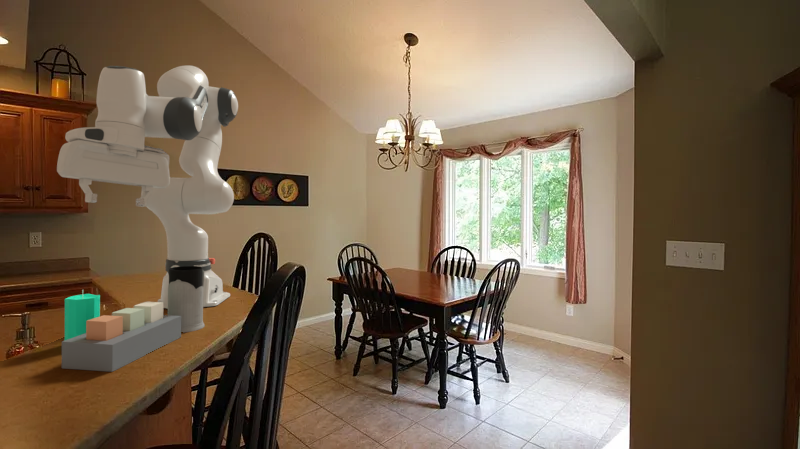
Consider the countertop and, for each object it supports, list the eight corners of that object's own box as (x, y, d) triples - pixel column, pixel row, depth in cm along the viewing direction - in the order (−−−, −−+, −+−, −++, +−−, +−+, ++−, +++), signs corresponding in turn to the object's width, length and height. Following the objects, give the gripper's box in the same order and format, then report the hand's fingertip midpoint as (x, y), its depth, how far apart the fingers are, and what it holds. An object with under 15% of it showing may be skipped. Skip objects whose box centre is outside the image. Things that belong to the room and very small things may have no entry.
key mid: (126, 335, 85) (126, 307, 85) (144, 336, 85) (144, 308, 85) (111, 341, 81) (111, 312, 81) (130, 342, 81) (130, 313, 81)
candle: (80, 350, 82) (80, 293, 82) (56, 347, 83) (57, 291, 83) (106, 341, 88) (107, 288, 88) (84, 339, 89) (85, 286, 89)
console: (140, 334, 93) (140, 313, 93) (180, 337, 93) (181, 315, 92) (61, 368, 73) (61, 341, 73) (112, 371, 73) (112, 344, 73)
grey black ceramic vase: (157, 332, 96) (158, 270, 95) (186, 316, 110) (187, 262, 109) (195, 332, 96) (196, 271, 96) (218, 317, 110) (219, 263, 110)
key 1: (103, 345, 79) (103, 315, 79) (122, 346, 79) (122, 316, 79) (86, 352, 75) (86, 320, 75) (106, 353, 75) (106, 321, 75)
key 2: (146, 327, 91) (146, 301, 91) (163, 328, 91) (163, 302, 91) (133, 332, 87) (133, 305, 87) (150, 333, 87) (151, 306, 87)
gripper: (162, 151, 96) (159, 208, 95) (55, 131, 79) (51, 200, 78) (176, 149, 93) (174, 208, 92) (68, 126, 75) (64, 199, 75)
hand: (117, 204), depth 85 cm, fingers open, 8 cm apart
